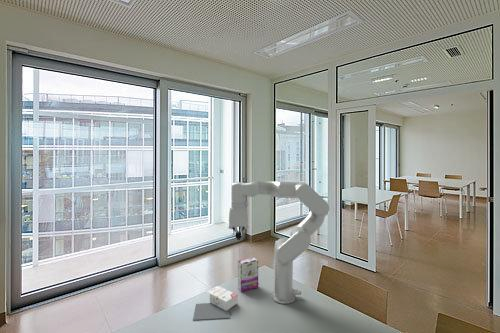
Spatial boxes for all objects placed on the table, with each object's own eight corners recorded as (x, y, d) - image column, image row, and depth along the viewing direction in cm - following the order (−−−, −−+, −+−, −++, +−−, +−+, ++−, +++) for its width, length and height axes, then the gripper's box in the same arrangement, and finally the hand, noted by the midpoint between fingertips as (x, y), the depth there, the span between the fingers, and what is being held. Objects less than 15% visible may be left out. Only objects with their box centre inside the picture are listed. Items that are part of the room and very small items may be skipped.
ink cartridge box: (237, 303, 130) (217, 293, 140) (237, 294, 130) (217, 284, 139) (226, 311, 124) (205, 300, 133) (226, 301, 123) (205, 291, 133)
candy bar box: (254, 284, 152) (254, 256, 151) (258, 287, 147) (258, 259, 147) (237, 288, 146) (237, 260, 146) (241, 292, 142) (241, 263, 142)
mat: (229, 302, 132) (229, 301, 132) (230, 318, 119) (230, 317, 119) (195, 304, 130) (195, 303, 130) (192, 320, 117) (192, 319, 117)
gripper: (251, 203, 141) (251, 236, 142) (224, 204, 140) (224, 237, 140) (253, 206, 134) (253, 241, 134) (224, 206, 132) (224, 241, 133)
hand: (238, 239), depth 137 cm, fingers closed
